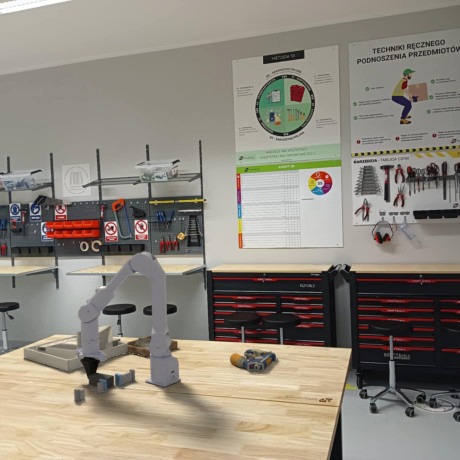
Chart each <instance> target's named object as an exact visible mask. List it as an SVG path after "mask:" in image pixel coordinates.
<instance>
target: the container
mask: <svg viewBox="0 0 460 460" xmlns="http://www.w3.org/2000/svg"><path fill="white" fill-rule="evenodd" d="M113 325H114V324H110V325H109V324H108V325H103V326H100V327H99V350H100V351H101V350H104V349H108V348H111V347H114V346H118V342H117V341H121V338H117V337H114V336H113V333H114V330H113ZM76 335H77V338H71V339H66V340H62V341H57V342H53V343H49V344H44V345H40V346H37V347H36V351H38V352H42V353H45V354H49V355H52V356H56V357H59V358H63V359H67V360H69V359H73V358H76V357H80V356H79V355H76V349H79V348H82V342H81V331H76Z"/></svg>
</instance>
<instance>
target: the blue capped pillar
mask: <svg viewBox="0 0 460 460" xmlns="http://www.w3.org/2000/svg"><path fill="white" fill-rule="evenodd" d="M99 381H101V382H99V383H97V393H98V394H101V393H104V392H105V393H106V392H107V391H108V390H107V389H108V388H107V386H106V380H104V379H99ZM133 381H136V370H135V369H134V368H131V369H129V370H128V371H127V372H124V373H122V374H121V373H119V372H117V373H114V386H117V387H122V385H125V384H127V383H130V382H133ZM73 392H74V393H73V395H74V397H73V399H74V401H75V402H78V403H79V402H80V401H82V400H84V399H86V392H85V388H78V387H76V388H74V389H73Z"/></svg>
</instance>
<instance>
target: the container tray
mask: <svg viewBox="0 0 460 460" xmlns="http://www.w3.org/2000/svg"><path fill="white" fill-rule="evenodd" d="M71 338H77V334H76V335H71V336H67V337H64V338H59V339H56V340H51V341H46V342H43V343H40V344H34V345H31V346H26V347H23V358H24V359H26V360H30V361H33V362H36V363H40V364H43V365H45V364H46V366H49V367H53V368H56V369H58V368H59V370H62V371H66V372H71V371H74V370H77V369H80V368H81V369H82V368H84V366H83V364H82V363H81V361H80V360H81V359H83V358H84V357H76V358H73V359H69V360H67V359H63V358H59V357H56V356H52V355H49V354H45V353H42V352H38V351H36V347H37V346H40V345H44V344H49V343H53V342H57V341H62V340H66V339H71ZM117 342H118V346H114V347H111V348H108V349H104V350H101V352H102V353H104V354H106V360H109V359H112V358H111V357H113V358H115V357H114V356H116V357H118V356H117V355H119V356H121V355H120V354H122V355H124V354H123V353H125V354H128V353H127V352H128V343H127V342H125V341H121V340H120V341H117ZM108 358H109V359H108Z"/></svg>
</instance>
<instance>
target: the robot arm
mask: <svg viewBox="0 0 460 460" xmlns="http://www.w3.org/2000/svg"><path fill="white" fill-rule="evenodd" d="M135 273H138V274H141V275H144V276H145V277H146V278H147V279H148V280H150V283H151V285H150V286H151V288H150V289H151V318H152V319H151V320H152V321H151V322H152V323H151V324H152V325H151V326H152V327H151V328H152V329H151V334H150V336H151V341H150V343H149V352H150V358H149V364H150V365H149V366H150V367H149V368H150V369H149V370H150V377H149V378H147V379H145V383H148V384H152V385H157V386H160V387H163V388H164V387H168V386H169V385H173V384H175V383H177V382H179V381H181V380H182V378H180V367H179V366H180V365H179V360H178V358H177V357H175V356H174V355H173V354H172V350H170V349H169V347H170V345H171V342H172V340H173V339H172V336H171V335H170V333H169V332H170V331H169V330H170V329H169V327H168V314H167V311H168V309H167V305H168V304H167V274H166V271H165V270H164V268H163V267H162V265H161V264H160V262H159V261H158V258H157V257H156V256H155V255H154V254H152V253H151V252H149V251H141V252H138V253H136V254H134V255H132V256H131V258H130V259H129V260H127V261H126V262H125V263H124V264H123V265H122V266H121V267H120V268H119V270H118V271H117V272H116V274H115V275H114V276H113V277H112V279H111V280H110V281H109V282H108V283H107V285H102V286H100V287H97V288H96V289H95V290H94V292H95V293H93V295H92V296H91V297H90V298H87V300H86V301H85V302H86V304H84V305H81V306H80V307H79V310H78V312H77V316H78V319H79V320H80V332H81V342H82V348H79V349H76V355H79V356H80V357H84V358H83V359H81V360H80V361H81V363H82V364H83V366H84V367H83V368H84V371H85V374H86V377H87V380H89V375H91V374H94V373H98V371H97V370H98V368H99V364H100V363H101V362H104V361H107V359H106V354H104V353H102V352H101V351H100V350H99V317H100V315H101V313H102V311H103V310H104V309H105V308H106V307H107V306H108V305H109V303H110V302H112V301H113V299H114V297H115V291H116V290H117V289H118V288H119V287H120V286H121V285H122V284H123V282H124V281H126V279H128V277H129V276H131V275H134V274H135Z"/></svg>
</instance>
